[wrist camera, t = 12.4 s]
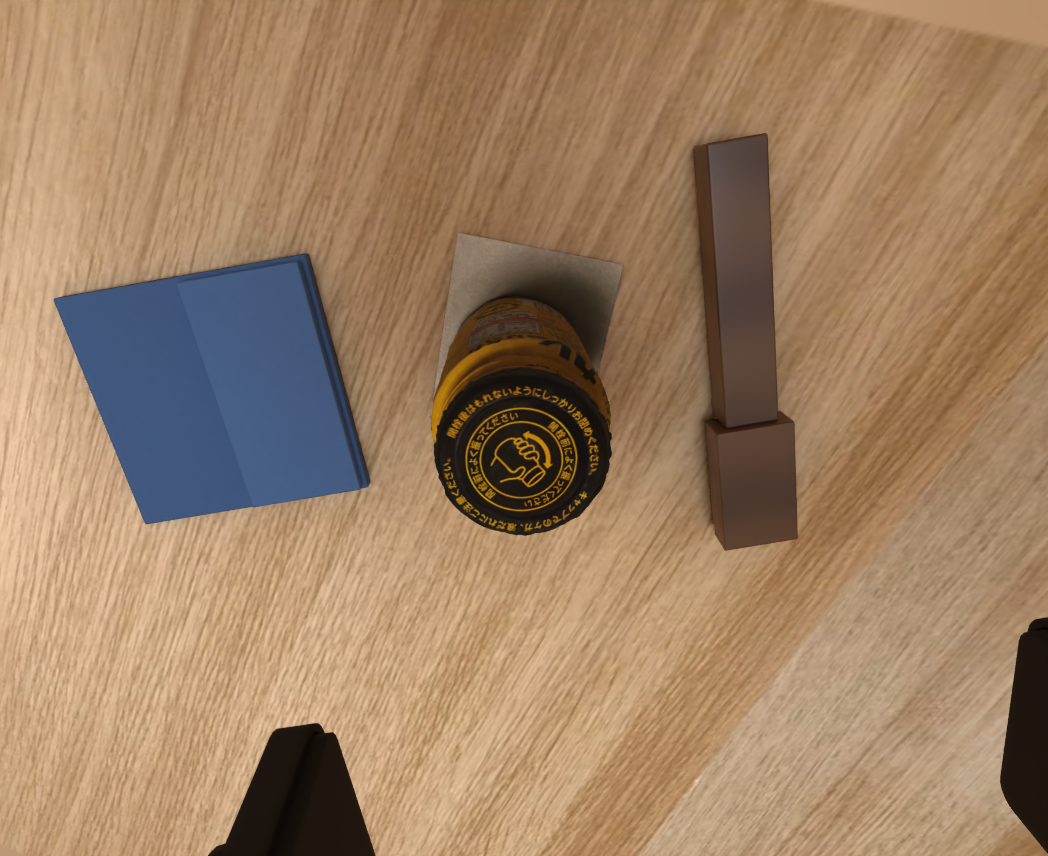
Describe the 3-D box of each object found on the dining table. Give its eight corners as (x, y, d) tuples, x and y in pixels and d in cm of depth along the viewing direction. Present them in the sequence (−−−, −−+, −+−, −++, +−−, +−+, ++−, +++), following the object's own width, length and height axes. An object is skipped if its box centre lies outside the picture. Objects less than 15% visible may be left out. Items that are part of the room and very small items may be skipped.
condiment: (430, 416, 31) (390, 545, 20) (457, 232, 28) (428, 260, 17) (580, 441, 32) (624, 579, 21) (622, 263, 29) (699, 311, 18)
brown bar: (679, 148, 28) (695, 145, 25) (763, 133, 28) (786, 128, 25) (709, 527, 34) (724, 551, 31) (778, 515, 34) (798, 539, 31)
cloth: (61, 296, 29) (43, 301, 28) (308, 253, 29) (300, 255, 27) (151, 519, 33) (138, 531, 31) (370, 482, 32) (365, 493, 31)
